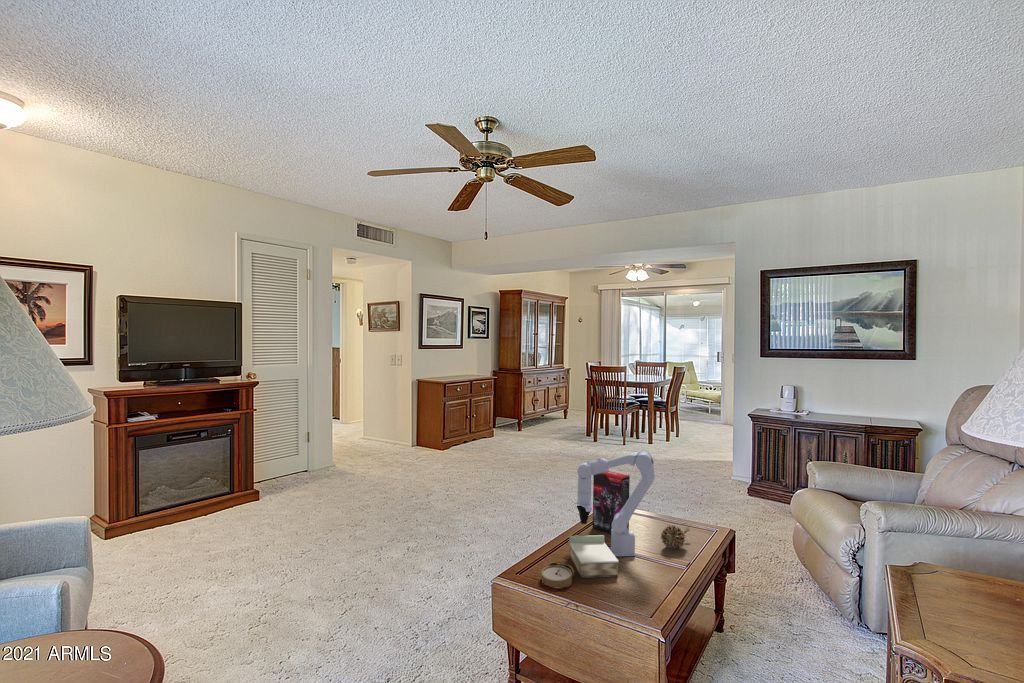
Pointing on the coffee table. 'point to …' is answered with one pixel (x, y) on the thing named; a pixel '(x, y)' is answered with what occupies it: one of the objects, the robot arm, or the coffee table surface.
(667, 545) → the pine cone
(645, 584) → the coffee table surface
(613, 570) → the case
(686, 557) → the coffee table surface
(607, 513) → the graphics card box
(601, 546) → the lid
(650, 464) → the robot arm
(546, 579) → the alarm clock
